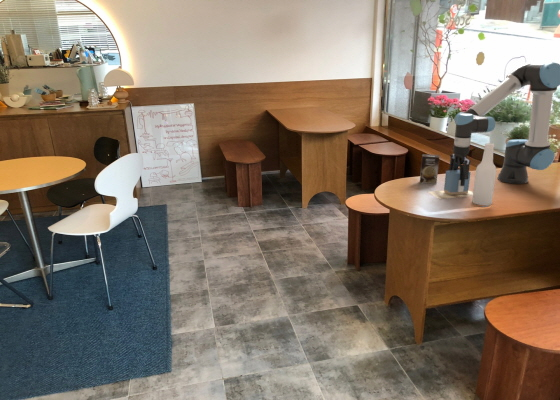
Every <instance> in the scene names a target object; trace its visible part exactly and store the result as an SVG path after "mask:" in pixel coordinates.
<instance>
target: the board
mask: <svg viewBox="0 0 560 400" xmlns="http://www.w3.org/2000/svg"><path fill="white" fill-rule="evenodd" d="M427 193H428V194H430V195H431V196H433V197H435V198H437V199H438V200H444V199H446V200H447V199H453V198H454V199H456V198H466V197H473V191H472V190H469V189H468V193H465V194H454V195H450V194H448V193H446V192H444V189H443V190H431V191H427Z"/></svg>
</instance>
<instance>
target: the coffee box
mask: <svg viewBox="0 0 560 400" xmlns="http://www.w3.org/2000/svg"><path fill="white" fill-rule="evenodd" d="M421 156H422V157H421V164H420V165H421V166H420V177H419V184H437V183H438V173H439V165H440V163H439V162H440V155H439V154H430V153H429V154H427V153H425V154H424V153H423V154H422V155H421Z"/></svg>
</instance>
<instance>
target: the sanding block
mask: <svg viewBox="0 0 560 400" xmlns="http://www.w3.org/2000/svg"><path fill="white" fill-rule="evenodd" d="M470 178H471V172H470V171H469V177H468V179H466V180H465V184H464V189H463V192H458V184H459V179H460V169H458V170H450V171H449V170H445V177H444V185H443V186H444V187H443V190H444V192H446V193H448V194H450V195H454V194H465V193H468V190H469V188H470V181H471V179H470Z"/></svg>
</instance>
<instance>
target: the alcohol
mask: <svg viewBox="0 0 560 400" xmlns="http://www.w3.org/2000/svg"><path fill="white" fill-rule="evenodd" d="M494 148H495V143H493V142H492V143H491V142H486V143H485V144H484V150H483V155H482V160H481V162H480V163H479V164H477V166H476V169H475V174H474V175H475V176H474V183H473V184H474V185H473V191H472V192H473V196H472V199H471V200H472V201H471V202H472V203H473V204H475V205H479V206H478V207H479V208H489V207H490V206H491V205H492V203H493V197H494V190H495V183H496V177H497V167H496V165H495V164H494Z"/></svg>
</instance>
